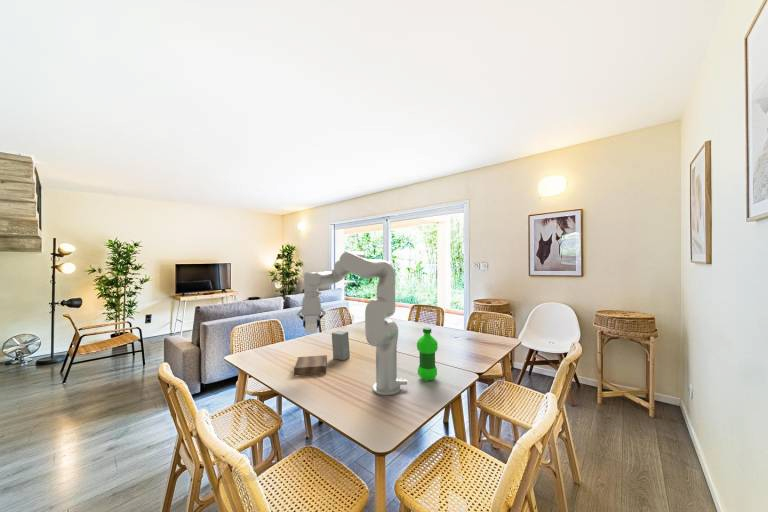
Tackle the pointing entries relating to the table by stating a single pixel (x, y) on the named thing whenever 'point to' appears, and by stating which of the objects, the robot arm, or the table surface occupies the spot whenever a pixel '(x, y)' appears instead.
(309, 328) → the white rectangular block
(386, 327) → the robot arm
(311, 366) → the walnut stand
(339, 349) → the skincare box
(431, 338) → the plastic bottle
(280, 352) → the table surface
